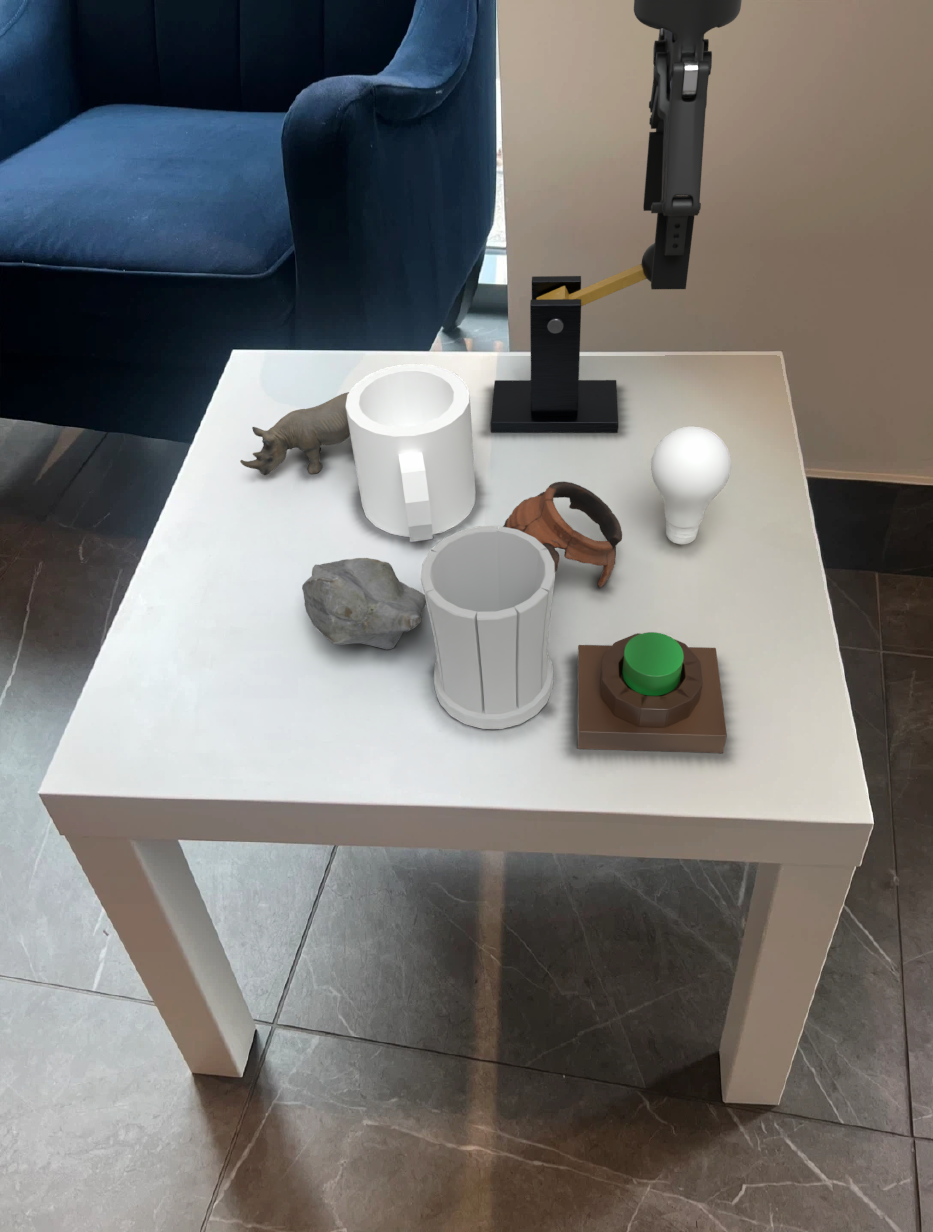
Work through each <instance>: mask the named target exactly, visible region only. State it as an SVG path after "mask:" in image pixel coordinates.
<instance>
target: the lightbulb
mask: <svg viewBox="0 0 933 1232" xmlns="http://www.w3.org/2000/svg"><path fill="white" fill-rule="evenodd" d="M731 461H732V459H731V454H730V451H729V449H728V446H727V445H726V443H725V442H724V440H723V439H722V438H721V437H720V436H719V435H717V434H716V433H715V432H714V431H712V430H710V429H708V428H705V427H702V426H693V425H692V426H683V427H679V428H676V429H674V430H673V431H670V432H669V433H668V434H667V435H665V436H664V437H662V439H661V440H660V441H659V442H658V444H657V445H656V447H655V448H654V451H653V454H652V457H651V461H650V473H651V477H652V480H653V483H654V485H655V487H656V489H657V490H658V492H659V493H660V495H661V497H662V500H663V503H664V505H663V506H664V517H665V520H666V524H665V534H666V537H667V539H668V540H669V541H671V542H672V543H674V544H676V545H688V544H690V543H692V542H694V541H695V540H696V539H697V535H698V532H699V528H700V524H701V523H702V521H703V520H704V516H705V513H706V510H707V508H708V506H709V504H710V503H711V502H712V500H714V499H715V498H716V497H717V496H718V495H719V494H720V492H721V491H722V490H723V489H724V487H725V486H726V484H727V483H728V481H729V479H730V475H731V470H732V462H731Z"/></svg>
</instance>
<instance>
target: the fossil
mask: <svg viewBox="0 0 933 1232" xmlns="http://www.w3.org/2000/svg"><path fill="white" fill-rule="evenodd" d="M301 589H302V592H303V601H304V609H305V612H306V613H307V616H308V618H309V619H310V622H311V624H312V625H313V626H314V627H315V629H317V630H318V631H319V633H321V635H323V636H324V637H325V638H326V639H327V640H329V641H330V642H331V644H334V645H350V644H362V645H368V646H371V647H375V648H379V649H384V650H391V649H392V650H393V649H394V648H395V647H396V645H397V644H398V642H399V640H400V639H401V637H402V635H403V634H404V632H409V631H410V630H413V629H414V628H416V627H417V626H419V625H420V623H421V622H422V617H423V616H422V615H423V612H424V609H425V607H426V606H427V603H426V599H425V594H424V592H421V590H418V589H416V588H414V587H411V586H409V585H407V584H405V583H403V582H402V581H400V580H399V578H398V576H397V574H396V572H395V571H394V568H393V566H392V565H391V564H390V563H389V562H387V561H382V560H379V559H376V558H369V557H356V558H350V559H349V558H348V559H340V560H337V561H331V562H327V563H321V564H314V565H313V567H312V569H311V576H309V578H307V580H305V582H304V583H303V584H302V585H301Z"/></svg>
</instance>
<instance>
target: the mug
mask: <svg viewBox="0 0 933 1232" xmlns="http://www.w3.org/2000/svg"><path fill="white" fill-rule="evenodd" d="M348 392H349V393H348V395H347V400H346V412H347V418H348V424H349V430H350V436H349V437H350V442H351V448H352V453H353V460H354V465H355V473H356V477H357V478H356V479H357V484H358V489H359V495H360V501H361V507H362V510H363V512H364V515H365V517H366V519H367V520H369V522H370V523H371V524H372V525H373V526H374V527H376V528H377V529H379V530H382V531H384V532H385V533H387V534H389V535H395V536H400V537H405V538H409V542H410V543H413V542H421V541H427V540H434V535H437V534H442V533H444V532H447V531H448V530H450V529H452V528H454V527H457V526H459V525H460V524H461V523H462V522H463V521H464V520H465V519H466V518H467V517H468V516H470V514H471V512H472V510H473V508H474V507H475V505H476V478H475V461H474V459H475V458H474V443H473V428H472V427H473V426H472V425H473V424H472V411H471V410H472V409H471V393H470V389H469V387H468V386H467V383H466V382H465V380H464V379H463V378H462V377H460V376H459V375H457V374H456V373H455V372H454V371H452V370H449V369H446V368H444V367H441V366H438V365H432V364H426V363H403V364H397V365H396V364H395V365H393V366H392V365H391V366H388V367H383V368H381V369H378V370H376V371H374V372H371V373H369V374H367V375H366V376H364V377H362V379H360V380H359V381H357V382H356V383H355V384H353V386H352V388H351V389H350V391H348Z"/></svg>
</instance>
